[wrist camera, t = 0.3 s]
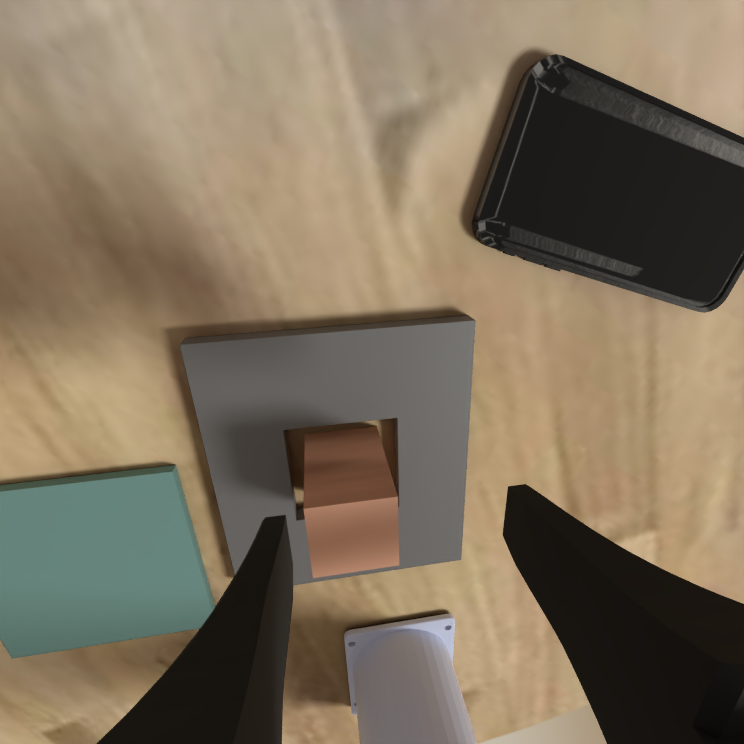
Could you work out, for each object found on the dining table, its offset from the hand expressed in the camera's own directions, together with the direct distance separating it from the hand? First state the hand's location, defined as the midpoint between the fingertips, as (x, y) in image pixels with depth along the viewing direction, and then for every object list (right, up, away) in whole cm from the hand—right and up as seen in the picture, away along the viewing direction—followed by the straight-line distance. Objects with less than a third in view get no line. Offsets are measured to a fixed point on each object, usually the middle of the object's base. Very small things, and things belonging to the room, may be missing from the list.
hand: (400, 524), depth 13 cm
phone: (+12, +13, +8) cm, 19 cm away
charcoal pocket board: (-3, 0, +10) cm, 11 cm away
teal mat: (-17, -6, +11) cm, 21 cm away
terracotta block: (-3, 0, +10) cm, 11 cm away
